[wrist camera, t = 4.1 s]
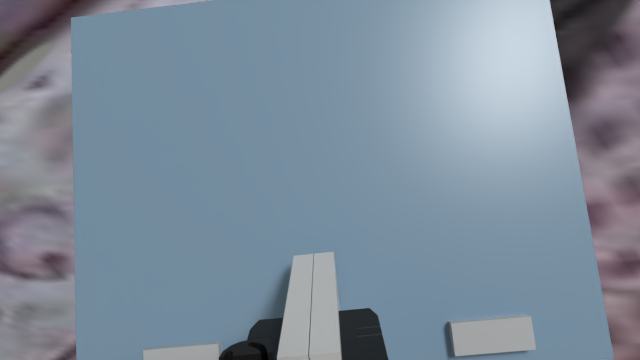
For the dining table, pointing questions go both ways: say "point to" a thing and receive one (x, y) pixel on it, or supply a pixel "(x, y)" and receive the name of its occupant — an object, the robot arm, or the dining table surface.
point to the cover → (330, 177)
